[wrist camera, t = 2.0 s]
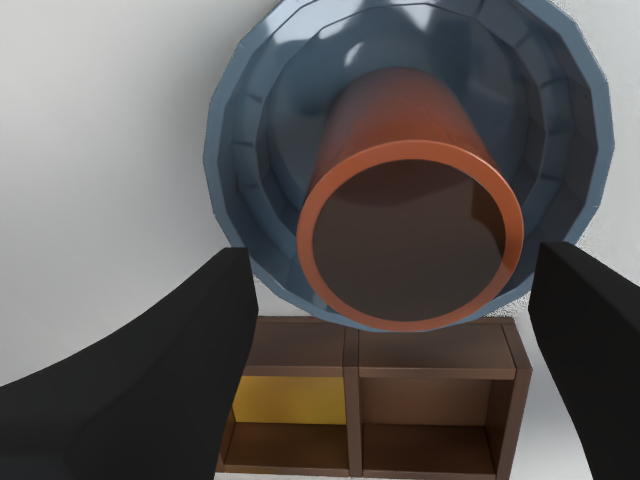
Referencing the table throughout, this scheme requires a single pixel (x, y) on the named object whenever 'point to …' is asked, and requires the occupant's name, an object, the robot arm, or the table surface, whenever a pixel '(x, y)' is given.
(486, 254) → the cup
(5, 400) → the robot arm
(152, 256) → the table surface
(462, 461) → the box
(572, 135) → the bowl
